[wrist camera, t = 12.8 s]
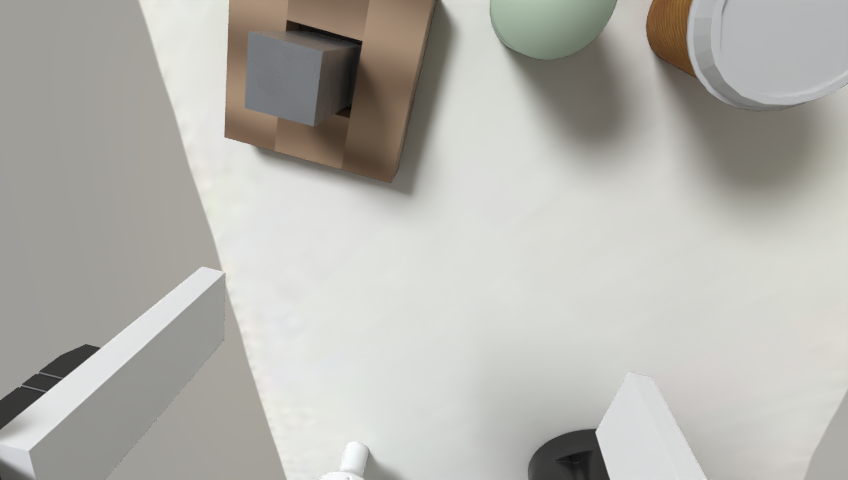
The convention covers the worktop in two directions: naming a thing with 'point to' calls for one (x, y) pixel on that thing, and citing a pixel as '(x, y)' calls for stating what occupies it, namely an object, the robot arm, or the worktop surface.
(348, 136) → the socket block
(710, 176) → the worktop surface
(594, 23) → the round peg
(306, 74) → the square peg
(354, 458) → the white tall cylindrical piece
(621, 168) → the worktop surface
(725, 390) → the worktop surface
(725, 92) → the disposable coffee cup
